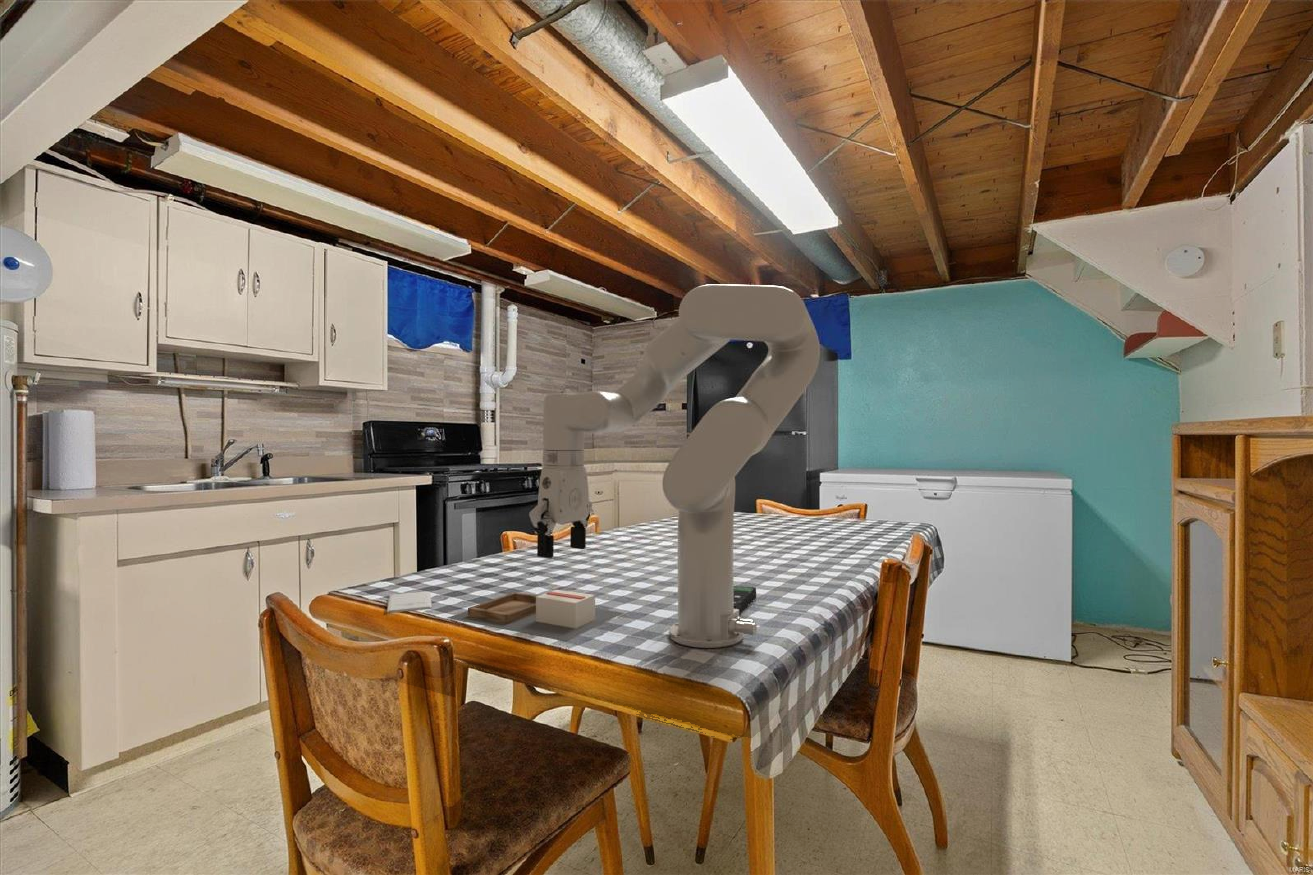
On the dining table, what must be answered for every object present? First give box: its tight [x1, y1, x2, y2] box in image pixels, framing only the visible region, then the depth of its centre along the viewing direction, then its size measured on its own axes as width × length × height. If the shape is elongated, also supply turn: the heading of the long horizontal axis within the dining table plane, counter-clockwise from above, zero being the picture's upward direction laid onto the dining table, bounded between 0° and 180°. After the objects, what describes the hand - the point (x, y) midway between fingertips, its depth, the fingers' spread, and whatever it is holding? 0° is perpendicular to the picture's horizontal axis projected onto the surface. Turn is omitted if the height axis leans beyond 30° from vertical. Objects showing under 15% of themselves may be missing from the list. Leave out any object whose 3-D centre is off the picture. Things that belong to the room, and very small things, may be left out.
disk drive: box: [734, 585, 757, 615], centre depth 124 cm, size 10×3×15 cm
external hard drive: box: [386, 591, 433, 615], centre depth 125 cm, size 2×8×12 cm
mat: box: [447, 607, 624, 642], centre depth 115 cm, size 28×18×1 cm, turn 61°
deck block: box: [536, 589, 596, 628], centre depth 112 cm, size 9×6×5 cm, turn 61°
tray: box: [467, 591, 538, 624], centre depth 118 cm, size 10×13×2 cm
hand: (562, 552), depth 112 cm, fingers open, 9 cm apart
